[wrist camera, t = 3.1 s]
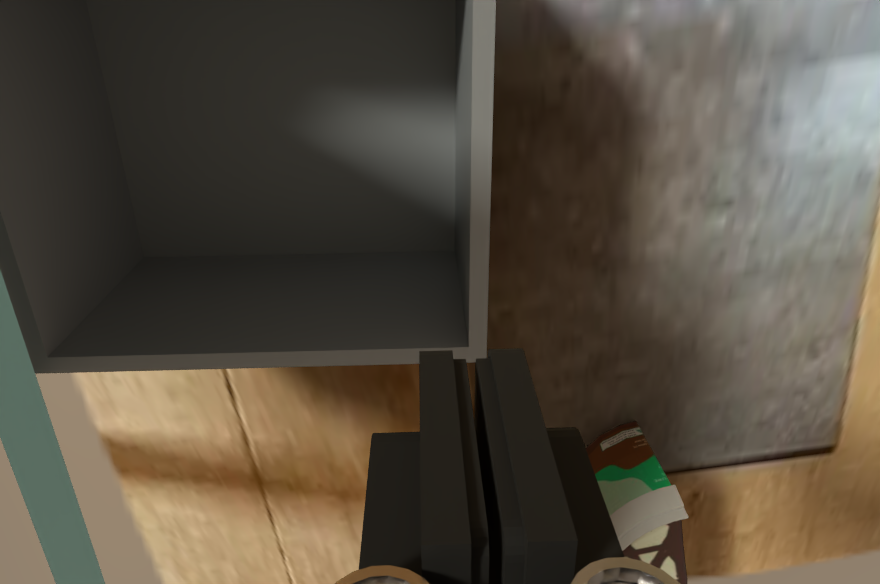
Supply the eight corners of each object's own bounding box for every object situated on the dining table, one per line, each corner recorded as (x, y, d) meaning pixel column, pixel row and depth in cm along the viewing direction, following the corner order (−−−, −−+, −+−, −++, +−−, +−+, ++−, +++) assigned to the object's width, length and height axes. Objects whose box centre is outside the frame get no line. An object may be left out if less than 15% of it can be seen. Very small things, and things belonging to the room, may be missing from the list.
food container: (547, 421, 46) (579, 530, 37) (634, 403, 45) (688, 510, 36) (569, 545, 51) (602, 666, 42) (647, 530, 51) (697, 650, 42)
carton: (471, -79, 32) (498, -106, 21) (467, 257, 40) (486, 362, 29) (59, -76, 32) (-126, -102, 21) (138, 264, 39) (33, 373, 29)
